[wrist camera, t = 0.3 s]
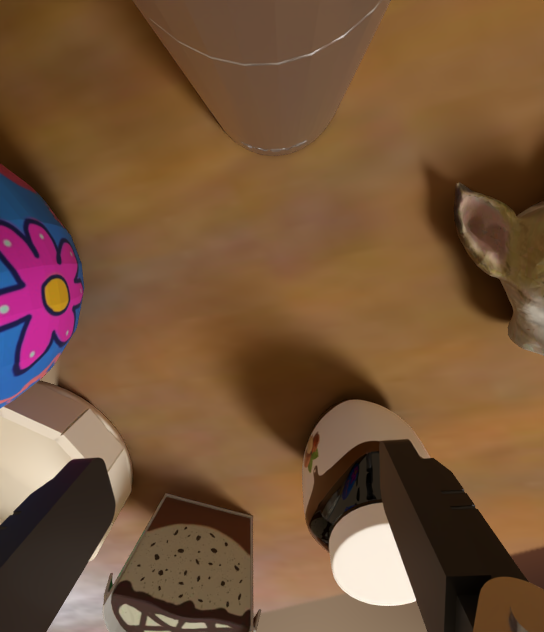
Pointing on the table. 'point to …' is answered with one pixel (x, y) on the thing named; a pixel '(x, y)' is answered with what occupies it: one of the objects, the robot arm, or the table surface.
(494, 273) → the ceramic sculpture
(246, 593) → the food container
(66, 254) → the ceramic pot
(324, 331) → the table surface
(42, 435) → the bowl
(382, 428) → the spread jar
